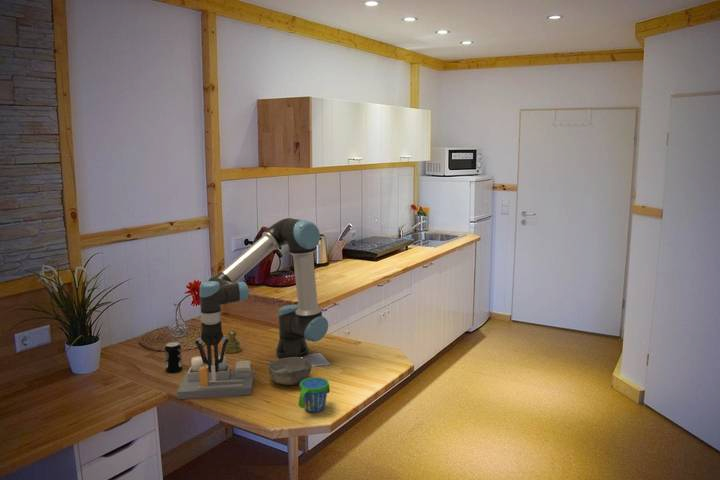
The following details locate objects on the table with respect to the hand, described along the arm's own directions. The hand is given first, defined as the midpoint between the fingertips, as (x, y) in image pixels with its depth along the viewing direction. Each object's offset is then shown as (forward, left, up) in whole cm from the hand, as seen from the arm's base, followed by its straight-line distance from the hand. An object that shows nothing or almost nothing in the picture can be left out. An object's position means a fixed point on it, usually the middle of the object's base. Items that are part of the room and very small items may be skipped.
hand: (214, 379), depth 224 cm
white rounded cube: (+7, -9, +1) cm, 12 cm away
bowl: (-30, -7, -6) cm, 31 cm away
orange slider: (+4, 0, -2) cm, 4 cm away
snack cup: (-39, +19, -6) cm, 43 cm away
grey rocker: (-11, -9, +1) cm, 14 cm away
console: (-1, -5, -6) cm, 8 cm away
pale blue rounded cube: (-2, -9, +1) cm, 9 cm away
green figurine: (-2, -47, -6) cm, 48 cm away
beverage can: (+20, -26, -6) cm, 34 cm away
